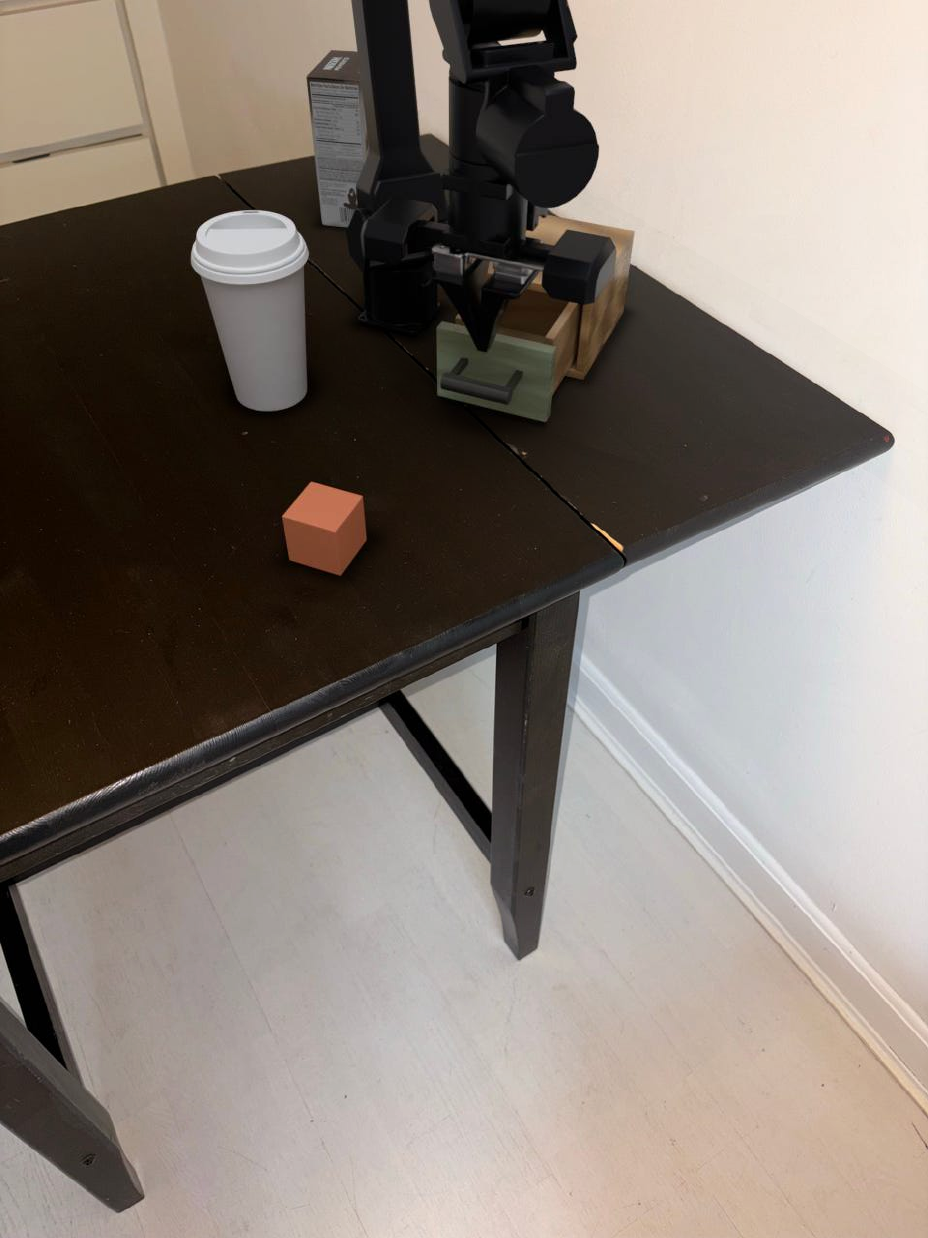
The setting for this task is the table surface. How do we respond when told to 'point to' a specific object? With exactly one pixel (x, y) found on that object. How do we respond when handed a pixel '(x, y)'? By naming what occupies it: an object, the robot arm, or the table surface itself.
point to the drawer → (512, 357)
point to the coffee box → (337, 133)
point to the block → (325, 528)
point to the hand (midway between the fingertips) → (484, 349)
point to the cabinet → (611, 299)
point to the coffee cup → (257, 303)
